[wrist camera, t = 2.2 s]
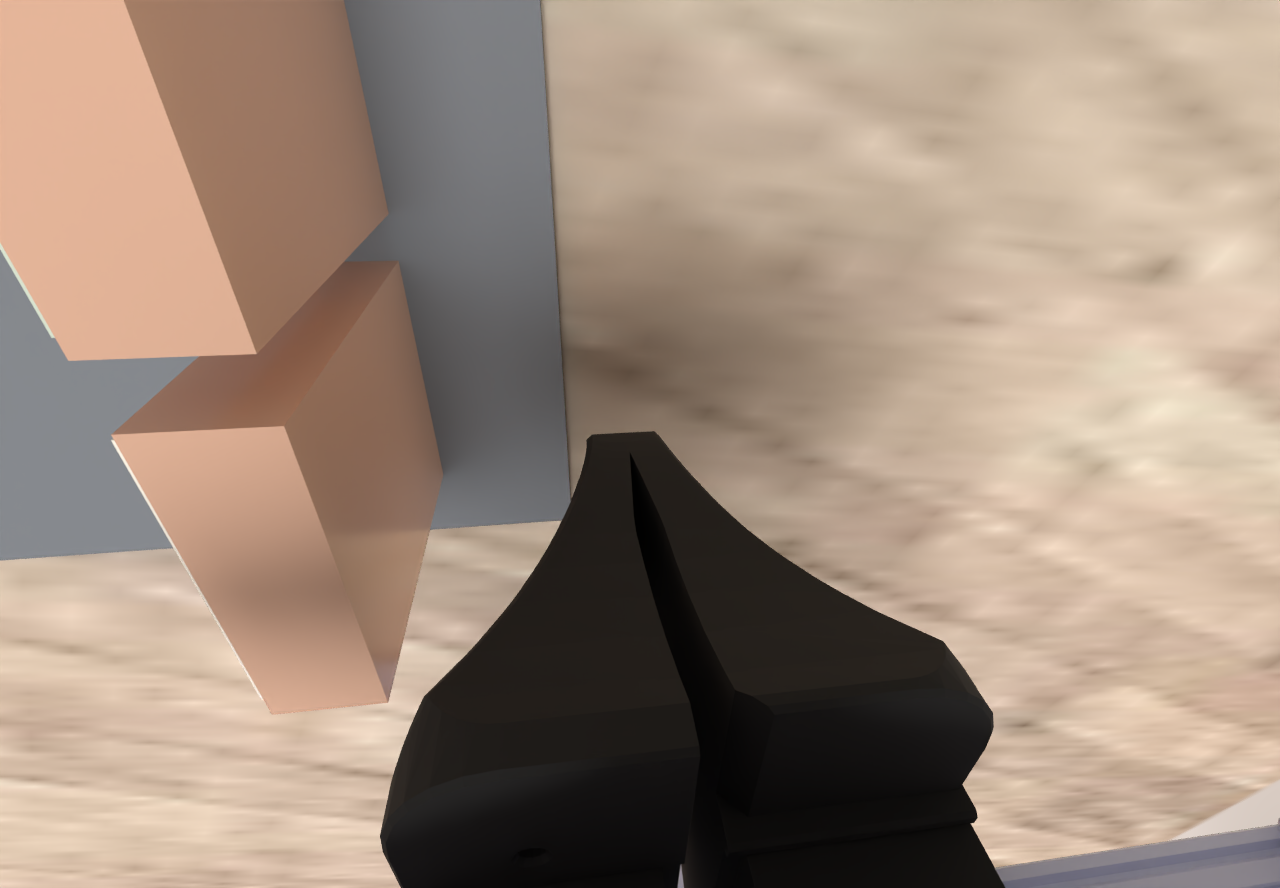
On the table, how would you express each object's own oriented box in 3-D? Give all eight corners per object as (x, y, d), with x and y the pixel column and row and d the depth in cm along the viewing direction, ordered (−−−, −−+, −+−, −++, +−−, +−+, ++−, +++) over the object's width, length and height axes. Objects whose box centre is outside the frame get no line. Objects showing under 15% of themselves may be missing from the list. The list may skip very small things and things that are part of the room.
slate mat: (570, 511, 18) (571, 519, 18) (-83, 556, 16) (-96, 567, 16) (519, -347, 9) (517, -363, 9) (-1061, -505, 7) (-1143, -533, 6)
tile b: (305, -184, 9) (-85, -553, 4) (388, 214, 13) (256, 354, 7) (153, -194, 9) (-532, -610, 3) (279, 215, 12) (48, 361, 7)
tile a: (398, 260, 13) (283, 426, 7) (443, 474, 17) (388, 702, 11) (294, 262, 13) (93, 435, 7) (361, 479, 16) (260, 715, 11)
